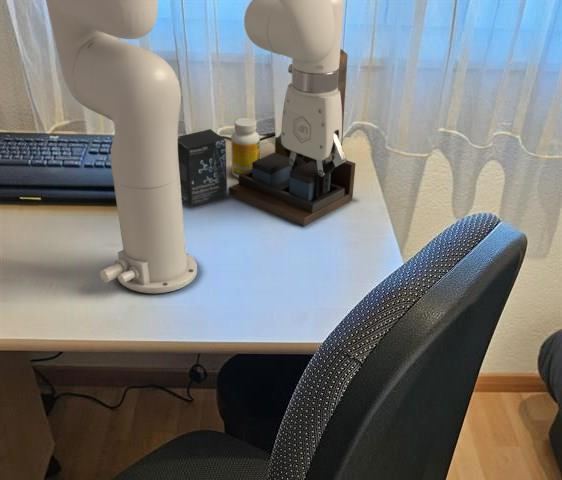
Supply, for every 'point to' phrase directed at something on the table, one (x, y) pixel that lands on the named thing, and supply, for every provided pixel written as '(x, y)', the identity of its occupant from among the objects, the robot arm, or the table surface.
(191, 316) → the table surface
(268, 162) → the dark grey block
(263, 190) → the brown wooden organizer
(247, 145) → the supplement bottle
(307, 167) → the blue lidded block
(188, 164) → the box
